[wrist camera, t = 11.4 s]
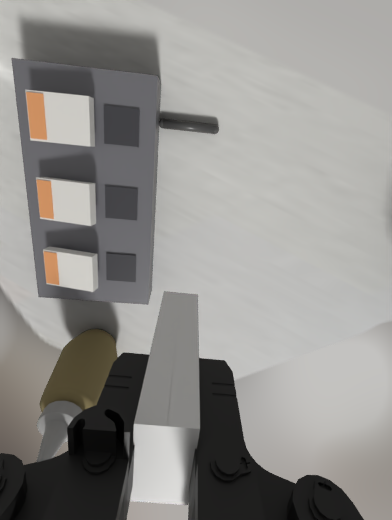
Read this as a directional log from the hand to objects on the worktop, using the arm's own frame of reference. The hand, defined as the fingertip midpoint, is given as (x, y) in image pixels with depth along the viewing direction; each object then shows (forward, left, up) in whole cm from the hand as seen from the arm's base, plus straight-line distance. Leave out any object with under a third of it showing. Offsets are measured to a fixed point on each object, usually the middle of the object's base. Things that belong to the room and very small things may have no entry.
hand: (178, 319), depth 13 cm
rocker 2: (+13, +7, -20) cm, 25 cm away
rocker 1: (+13, -9, -20) cm, 25 cm away
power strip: (+7, -1, -26) cm, 27 cm away
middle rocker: (+13, -1, -20) cm, 24 cm away
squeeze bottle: (+12, +22, -26) cm, 36 cm away
